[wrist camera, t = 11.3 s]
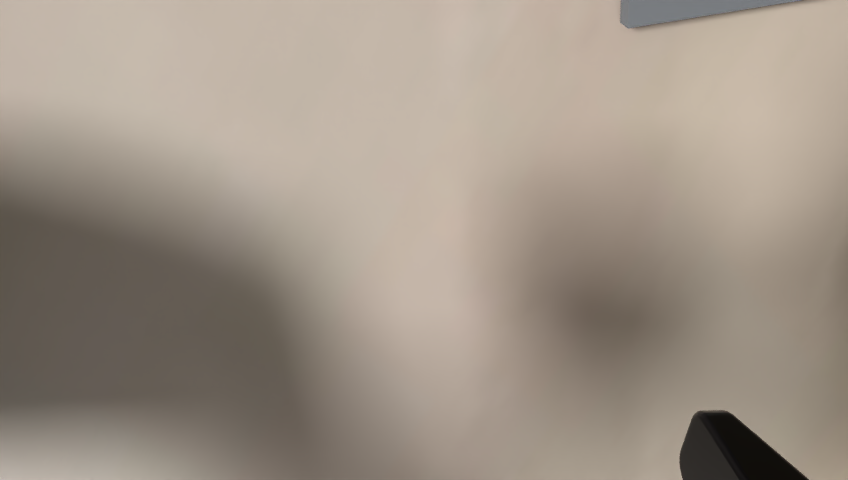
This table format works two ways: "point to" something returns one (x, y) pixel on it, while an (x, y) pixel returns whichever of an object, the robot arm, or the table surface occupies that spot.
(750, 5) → the grey mat
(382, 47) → the table surface
